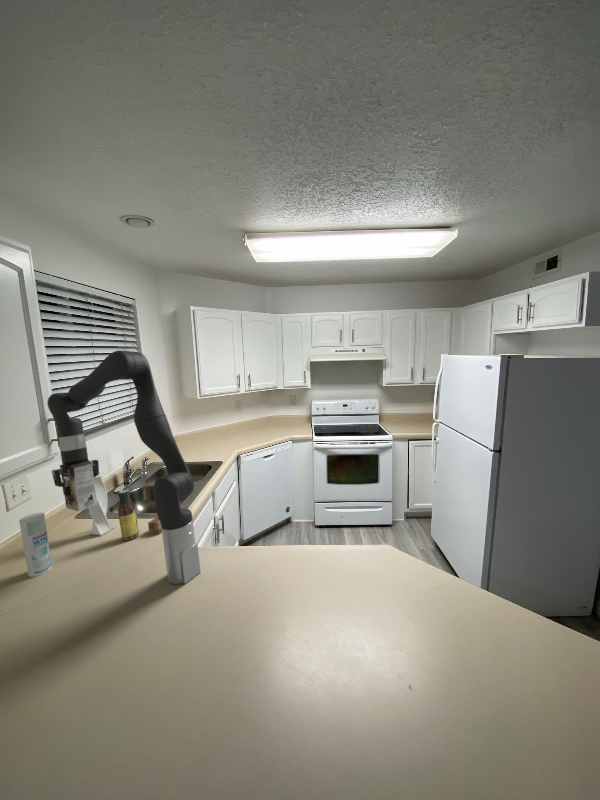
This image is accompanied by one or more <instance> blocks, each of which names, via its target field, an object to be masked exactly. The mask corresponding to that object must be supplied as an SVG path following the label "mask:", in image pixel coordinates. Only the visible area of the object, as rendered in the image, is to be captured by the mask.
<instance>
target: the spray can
mask: <svg viewBox="0 0 600 800" xmlns="http://www.w3.org/2000/svg"><path fill="white" fill-rule="evenodd" d="M19 528H20V533H21V539H22V545H23V550H24V551H23V552H24V557H25V563H26V567H27V575H28V577H29V578H34V577H39V576H41V575H44V574H46V573H48V572H50V570H51V569H52V559H51V551H50V545H49V544H50V543H49V537H48V530H47V523H46V516H45V512H36V513H31V514H28V515H25V516H23V517H22V518H19Z"/></svg>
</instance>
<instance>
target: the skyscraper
mask: <svg viewBox="0 0 600 800" xmlns="http://www.w3.org/2000/svg"><path fill="white" fill-rule="evenodd" d="M94 484H95V492H96V499H97V505H94V506H92V507H89V508H88V511H89V514H90V516H91V519H92V530H91V535H90V536H94V535H98V536H97V537H102V536H104V535H106V534H107V532H108V531H109V532H111V531H112V530H111V529H113V528H111V527H112V526H111V525H110V522H109V519H108V518H107V512H108V503H109V502H108V491H107V488H106V484H105V481H104V480H103V471H102V470H101V469H99V475H98V476H96V477H94ZM110 530H111V531H110ZM113 530H114V529H113ZM109 532H108V533H109ZM105 533H106V534H105Z"/></svg>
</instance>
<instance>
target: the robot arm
mask: <svg viewBox="0 0 600 800" xmlns="http://www.w3.org/2000/svg"><path fill="white" fill-rule="evenodd" d="M117 380H121V381H122V380H130V381H131V380H132V382H133V384H134V387H135V391H136V396H137V399H136V404H135V405H136V406H135V409H134V415H133V423H134V425H135V428H136V430H137V433H138V436H139V438H140V440H141V441H142V443H143V444H144V445H145V446H146V447H147V448H148V449H150V451H152V452H154V454H156V455H157V456H158V457H159V458H160V459H161V461H162V462H163V464H164V467H165V468H166V471H167V473H166V474H165V475H163V476H161V477H159V478H157V479H156V480H155V481H154V483H153V488H152V493H153V498H154V504H155V505H154V506H155V509H156V515H157V516H156V517H158V519H159V520H160V523H161V528H162V533H161V536H162V543H163V550H164V551H163V552H164V559H165V565H166V566H165V567H166V574H167V582H168V583H169V584H173V585H174V584H175V585H179V584H187V583H188V582H190V581H191V580H192V579H194V578H195V577H196V576H197V575H198V574H200V573H201V572H202V571H201V566H200V565H201V564H200V556H199V555H200V554H199V545H198V543H196V538H195V530H194V529H195V528H194V519H193V513H192V510H191V509H188V508H181V506H180V501H182V500H184V499H186V498H187V497H189V496H190V495H191V494H192V493H193V492H194V489H195V482H194V478H193V475H192V473H191V471H190V469H189V468H188V465H187V464H186V462H185V460H184V457H183V456H182V454H181V452H180V449H179V447H178V445H177V442H176V439H175V436H174V435H173V432H172V429H171V427H170V423H169V421H168V418H167V415H166V413H165V411H164V408H163V406H162V405H163V404H162V402H161V401H160V397H159V394H158V392H157V391H158V390H157V389H156V385H155V381H154V377H153V373H152V369H151V366H150V363H149V360H148V358H147V357H146V356H145V355H144V354H143V353H141V352H138V351H134V350H133V351H132V350H131V351H130V350H115V351H112V352H111V353H110V354H109V355H107V356H106V357H105V358H104V359H103V360H102V361H101V362H100V363H99V364H98V365H97V366H96V367H95V368H94V370H93V371H91V373H90V374H89V375H87V376H86V377H84V378H82V379H81V380H80V381H77V383H75V384H73V385H72V386H71V387H70V388H69V390H68V391H67V392H55V393H52V394H50V395H49V397H48V398H47V408H48V410H49V412H50V413H51V415H52V417H53V419H54V422H55V424H56V426H57V430H58V431H57V432H58V436H59V437H58V438H59V439H58V442H59V445H58V446H59V447H58V448H59V451H60V459H61V463H62V464H61V465H62V468H60V467H59V468H58V469H52V470H51V475H52V478H53V482H54V486H55V487H59V488H61V487H62V493H63V496H64V495H65V496H66V497H70V496H71V493H70V486H69V480H70V478H69V476H68V477H65V476H64V480H63V482H62V476H61V472H62V471H63V472H65V473H68V469H67V466H69V465H73V464H77V463H83V462H92V469H93V476H94V477H96V476H98V475H99V471H100V468H99V467H100V466H99V465H100V464H99V460H98V459H91V460H89V456H88V448H87V443H86V437H85V434H84V433H85V432H84V427H83V425H84V424H83V421H82V419H81V418H78V417H71V416H70V415H69V413H72V412H78V411H81V410H83V409H85V408H86V407H87V405H88V404H89V402H90V401H92V400H94V399H95V398H97V397H99V396H100V395H101V394H102V393H103V392H104V390H105V388H106V385H107V384H108V383H111V382H113V381H117ZM65 496H64V497H65Z"/></svg>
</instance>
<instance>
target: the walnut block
mask: <svg viewBox="0 0 600 800" xmlns="http://www.w3.org/2000/svg"><path fill="white" fill-rule="evenodd" d="M147 527H148V534H149V535H160V534H161V535H162V528H161V523H160V520H159V519H158V516H156V517H155V518H152V519H151V520H150V521H148V522H147Z"/></svg>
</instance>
